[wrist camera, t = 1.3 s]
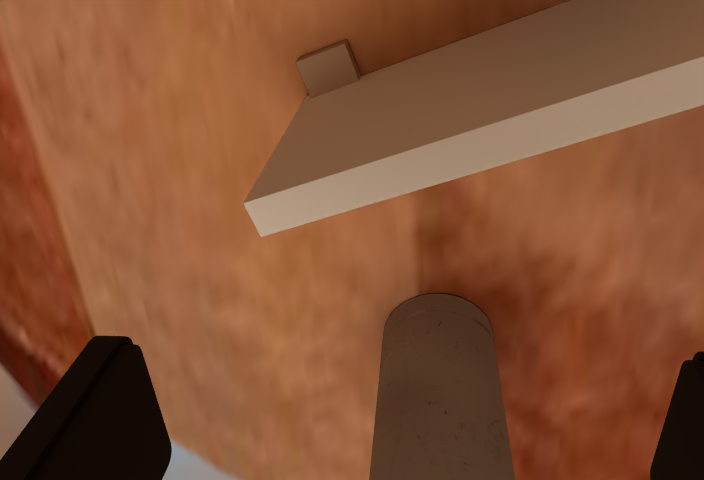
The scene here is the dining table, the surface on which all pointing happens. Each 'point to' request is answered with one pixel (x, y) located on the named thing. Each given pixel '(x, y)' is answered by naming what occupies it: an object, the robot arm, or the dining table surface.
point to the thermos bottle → (439, 396)
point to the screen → (477, 104)
